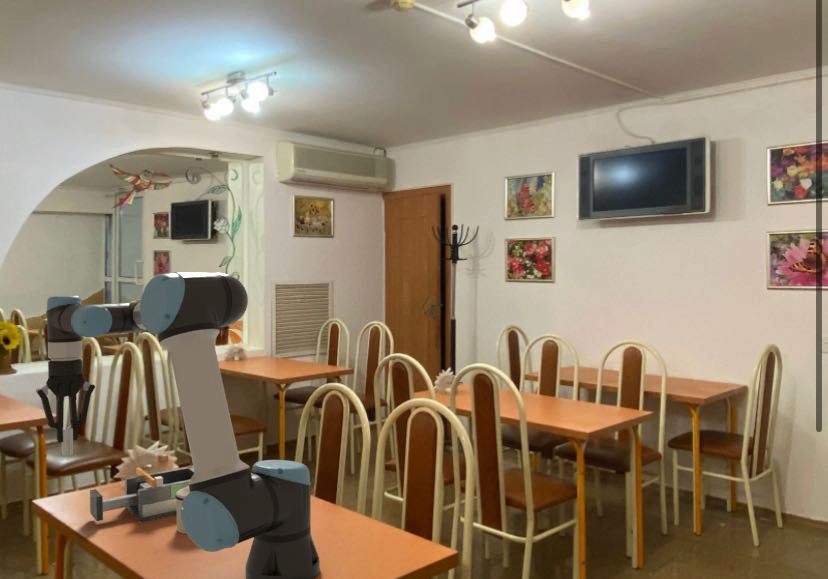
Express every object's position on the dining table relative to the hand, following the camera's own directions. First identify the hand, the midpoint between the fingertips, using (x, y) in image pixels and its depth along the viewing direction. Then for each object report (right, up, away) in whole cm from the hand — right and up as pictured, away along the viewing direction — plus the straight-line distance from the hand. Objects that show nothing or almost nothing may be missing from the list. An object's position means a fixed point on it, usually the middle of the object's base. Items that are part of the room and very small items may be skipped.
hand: (67, 454), depth 169 cm
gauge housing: (+19, -18, +15) cm, 30 cm away
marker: (+20, -10, +7) cm, 23 cm away
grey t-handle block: (+11, -17, +9) cm, 22 cm away
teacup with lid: (+32, -18, +1) cm, 37 cm away
